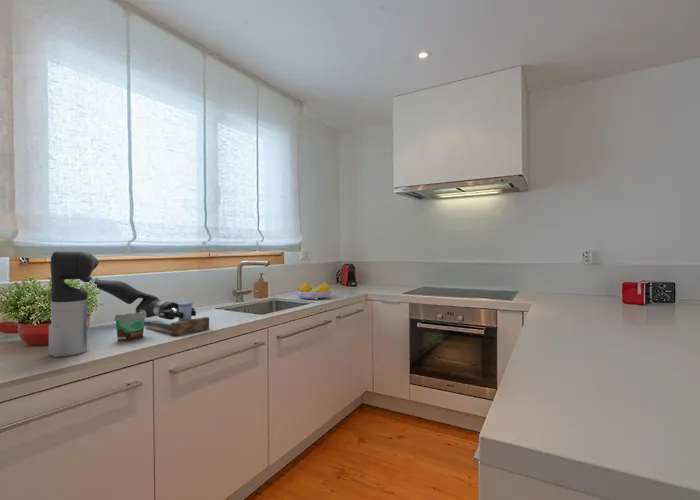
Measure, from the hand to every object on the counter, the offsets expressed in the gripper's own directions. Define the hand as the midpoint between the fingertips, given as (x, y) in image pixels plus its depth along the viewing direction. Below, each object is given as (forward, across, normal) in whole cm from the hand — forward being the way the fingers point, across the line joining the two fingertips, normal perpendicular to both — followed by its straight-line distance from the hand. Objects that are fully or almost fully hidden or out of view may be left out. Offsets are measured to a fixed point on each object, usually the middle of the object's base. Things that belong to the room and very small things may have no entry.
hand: (188, 314), depth 144 cm
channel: (-8, 0, +7) cm, 11 cm away
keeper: (-3, 0, +6) cm, 7 cm away
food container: (-6, -18, +7) cm, 20 cm away
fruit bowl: (-22, +109, +8) cm, 111 cm away
